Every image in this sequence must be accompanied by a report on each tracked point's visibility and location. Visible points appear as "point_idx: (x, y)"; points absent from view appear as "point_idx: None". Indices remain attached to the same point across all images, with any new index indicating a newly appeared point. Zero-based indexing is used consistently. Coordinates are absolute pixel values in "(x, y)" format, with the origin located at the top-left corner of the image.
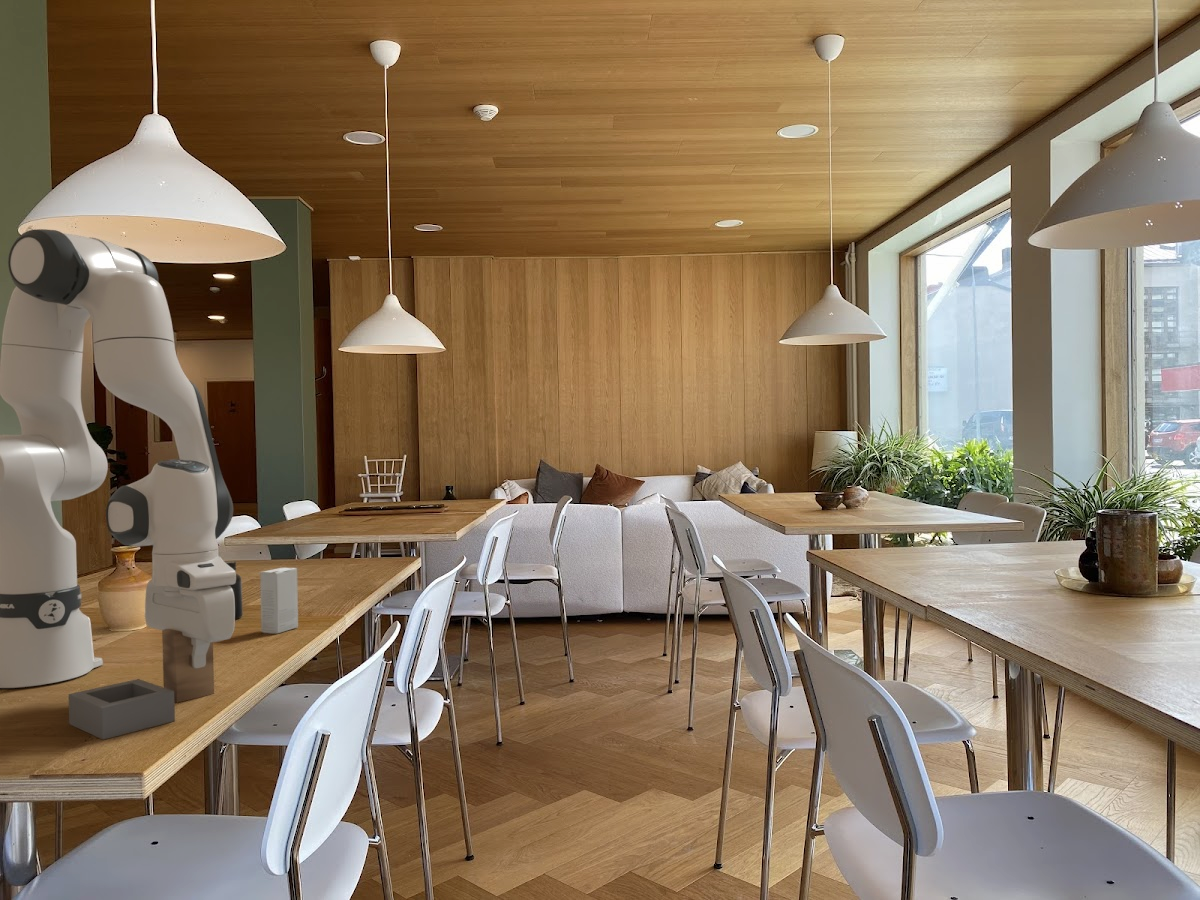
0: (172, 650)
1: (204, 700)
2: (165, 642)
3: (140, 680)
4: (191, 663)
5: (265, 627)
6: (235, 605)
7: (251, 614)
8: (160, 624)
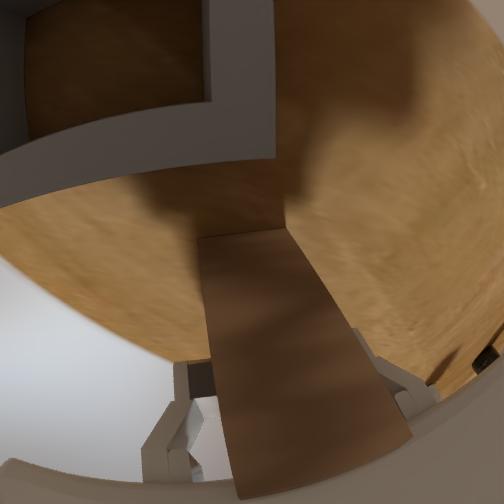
0: (259, 386)
1: (163, 295)
2: (350, 395)
3: (230, 152)
4: (194, 370)
5: (431, 391)
6: (479, 372)
7: (468, 370)
8: (464, 416)
